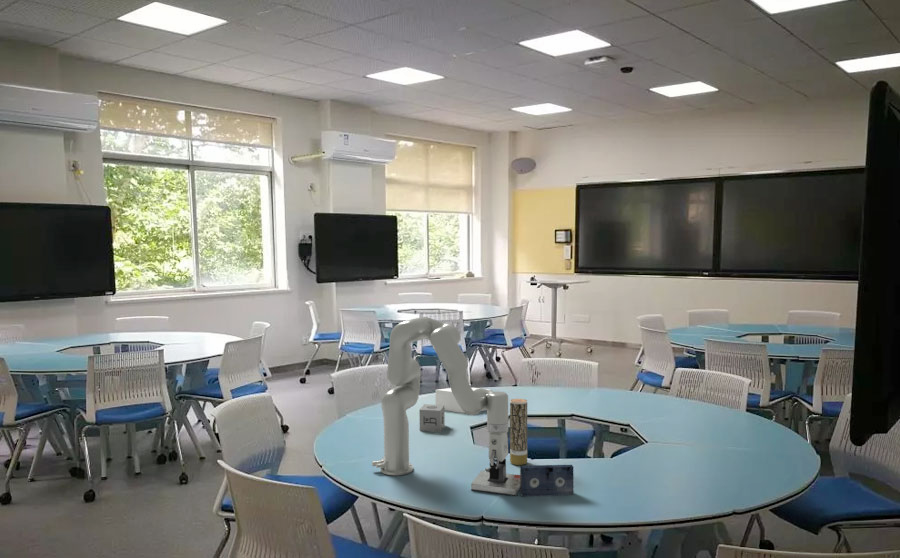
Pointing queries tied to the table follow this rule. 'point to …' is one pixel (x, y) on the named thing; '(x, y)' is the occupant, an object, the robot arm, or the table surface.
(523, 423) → the paper tube
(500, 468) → the plug
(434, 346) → the robot arm
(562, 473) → the vhs cassette tape
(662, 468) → the table surface
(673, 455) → the table surface
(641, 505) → the table surface
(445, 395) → the block
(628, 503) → the table surface
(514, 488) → the socket plate
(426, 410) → the icon cube
